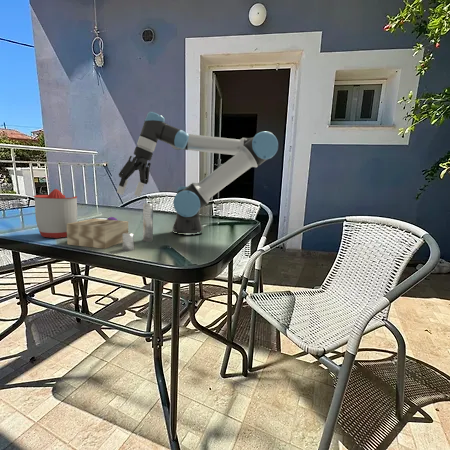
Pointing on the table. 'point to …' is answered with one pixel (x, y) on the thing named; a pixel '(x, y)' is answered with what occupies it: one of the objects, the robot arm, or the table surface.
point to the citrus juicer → (55, 213)
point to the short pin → (128, 241)
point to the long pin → (147, 222)
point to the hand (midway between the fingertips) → (128, 194)
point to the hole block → (96, 232)
